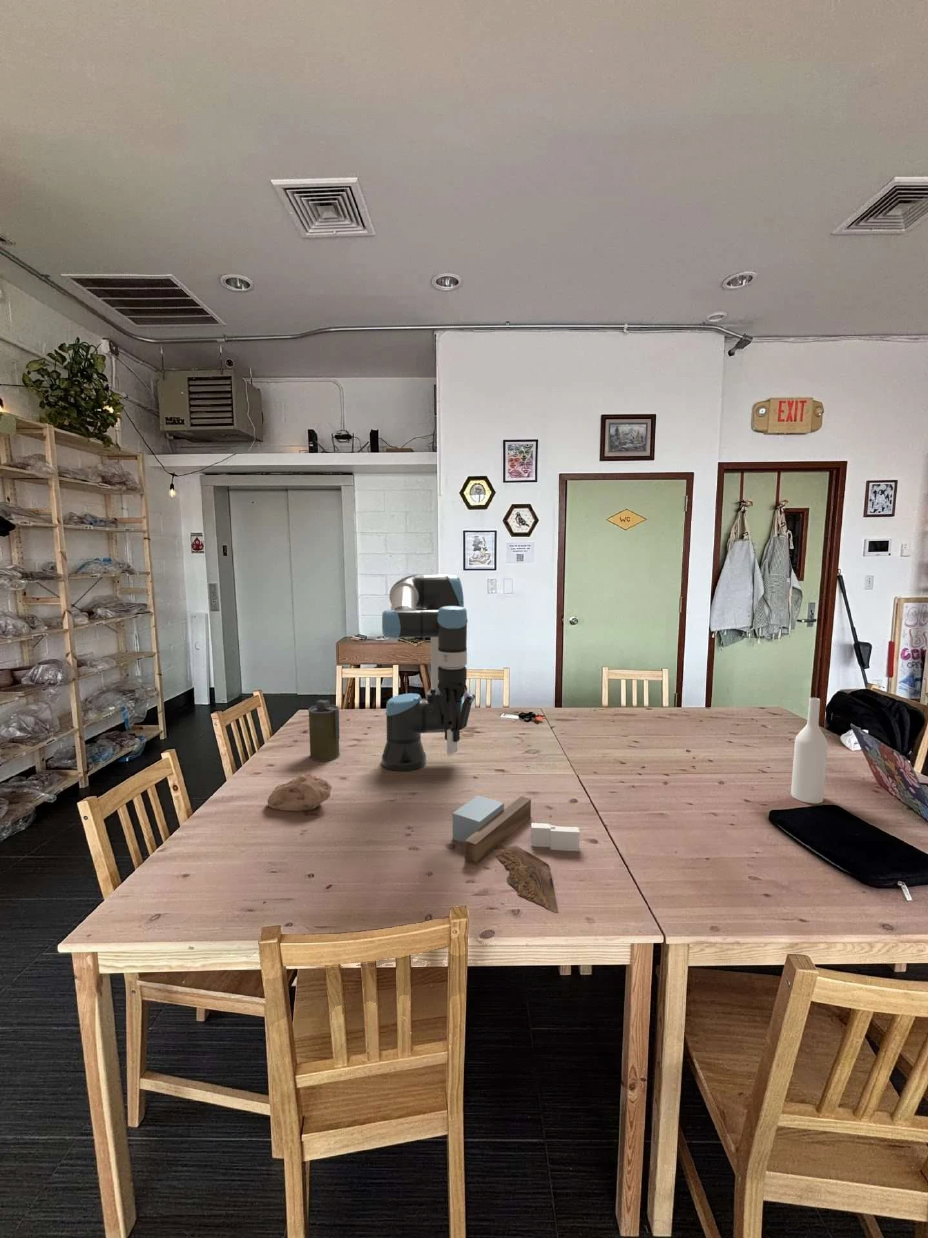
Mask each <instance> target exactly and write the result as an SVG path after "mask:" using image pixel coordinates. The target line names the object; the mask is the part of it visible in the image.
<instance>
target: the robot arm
mask: <svg viewBox="0 0 928 1238" xmlns="http://www.w3.org/2000/svg"><path fill="white" fill-rule="evenodd" d="M388 597H389V602H390V604H391V606H390V609H388V610H384V611H383V612H382V616H381V625H382V626H381V630H382V636H384V637H385V638H394V639H401V638H405V639H407V638H430V689H429V690H428V691H427V692H426V698H422V697H421V695H420V694H419V693H412V692H411V693H402V694H398V695H395V696H392V697H391V698H390V699H388V700H387V702H386V705H385V706H386V711H385V715H386V743H385V746H384V750H383V752H382V755H381V765H382V766H383V767H384V768H385V769H388V770H390V771H398V772H399V771H400V772H403V771H405V772H406V771H413V770H417V769H419V768H420V769H421V768H422V767H424V766H425V765H426V764H427V754H426V752H425V749H424V746H423V743H422V739H421V738H422V735H421V734H432V733H433V734H435V733H439V734H440V733H444V739H445V741H446V754H448V755H452V756H453V754H455V753H457V752H458V742H459V741H460V739H461V736H460V735H461V730H463V729H465V728H466V727H467V725H468V721H469V716H470V712H471V707H472V703H473V702H474V700H475V699H476V695H475V694H474V693H470V692H469V691H468V687H467V685H466V684H467V679H468V678H467V677H468V676H467V675H468V673H467V672H468V671H467V669H468V668H467V667H466V665H468V659H467V658H468V649H467V648H468V647H467V640H468V639H467V638H468V637H467V636H468V635H467V632H468V615H467V609H466V608H465V607H464V606H465V603H464V592H463V586H462V581H461V578H460V577H459V576H458V575H455V574H446V573H445V574H444V573H443V574H412V575H408V576H406V577H403V578H401V579H399V580H398V581H396V582H395V583H394V584H393V585H392V587H391V588H390V591H389V595H388Z"/></svg>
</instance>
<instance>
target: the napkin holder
mask: <svg viewBox="0 0 928 1238" xmlns="http://www.w3.org/2000/svg"><path fill="white" fill-rule="evenodd" d="M530 827H531V828H530V829H531V831H530V836H531V837H530V844H531V845H530V846H531V847H540V848H549V849H550V851H551V850H553V851H569V852H570V851H571V852H580V835H581V834H580V833H581V832H580V828H579V826H578V827H575V826H561V825H560V826H557V825H553V824H551V823H546V822H545V823H540V822H531V826H530Z"/></svg>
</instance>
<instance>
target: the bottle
mask: <svg viewBox="0 0 928 1238" xmlns="http://www.w3.org/2000/svg"><path fill="white" fill-rule="evenodd" d="M808 701H809V702H808V711H807V722H806V725H804V727H803V728H802V729H801V730H799V733H798V734H797V735H795V736H796V737H795V739H794V750H793V761H792V762H793V763H792V774H791V775H792V776H791V788H790V789H791V790H790V796H792V798H793V799H796V800H797V801H799V802H803V803H808V804H815V805H816V804H821V803H823V802H824V794H825V783H826V771H827V770H826V769H827V761H828V760H827V759H828V747H829V743H828V740H827V738H826V737H825V735H824V733H823V731H822V730H821V728H820V726H819V725H820V724H819V722H820V721H819V719H820V707H821V699H820V698H818V697H809V700H808Z"/></svg>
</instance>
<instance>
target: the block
mask: <svg viewBox="0 0 928 1238" xmlns="http://www.w3.org/2000/svg"><path fill="white" fill-rule="evenodd" d="M504 809H505V803H504V802H503V801H502V802H501V801H499V800H494V799H491V798H489V797H488V798H487V797H484V796H482V795H481V796H480V795H477V796H475V797H473V798H472V799H470V800H469V801H468V802H466V803H465V804H464V805H462V806H461V807H459V808H458V809H456V810H454V811H453V812H452V839H453V840H455V841H458V842H461V843H463V844H465V840H466V839H467V838H469V837H470V836H471V835H472V834H474V833H475V832H476V831H478V830H479V829H480V828H481V827H483V826H484V825H485V824H486V823H488V822H489V821H490V820H492V819H493V818H494V817H495V816H497V815H498V814H499V813H500V812H502V811H503V810H504Z"/></svg>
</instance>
